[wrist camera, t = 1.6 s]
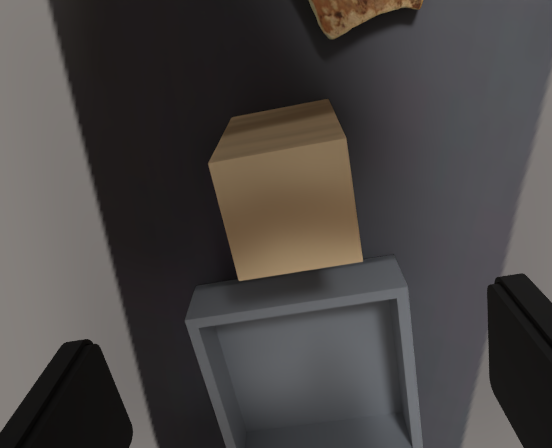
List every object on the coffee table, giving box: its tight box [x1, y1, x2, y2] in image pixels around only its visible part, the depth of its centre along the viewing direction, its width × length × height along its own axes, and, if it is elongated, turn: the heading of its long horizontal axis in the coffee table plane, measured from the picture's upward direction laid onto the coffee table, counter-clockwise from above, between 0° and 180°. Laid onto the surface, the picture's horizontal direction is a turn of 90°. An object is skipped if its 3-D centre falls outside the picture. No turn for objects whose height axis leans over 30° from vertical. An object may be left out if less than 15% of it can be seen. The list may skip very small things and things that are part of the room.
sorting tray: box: [185, 254, 423, 448], centre depth 29 cm, size 12×12×4 cm
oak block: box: [208, 99, 363, 281], centre depth 22 cm, size 5×5×8 cm
